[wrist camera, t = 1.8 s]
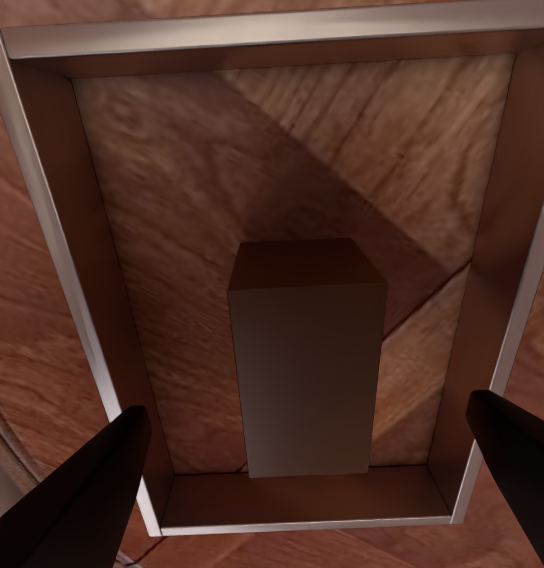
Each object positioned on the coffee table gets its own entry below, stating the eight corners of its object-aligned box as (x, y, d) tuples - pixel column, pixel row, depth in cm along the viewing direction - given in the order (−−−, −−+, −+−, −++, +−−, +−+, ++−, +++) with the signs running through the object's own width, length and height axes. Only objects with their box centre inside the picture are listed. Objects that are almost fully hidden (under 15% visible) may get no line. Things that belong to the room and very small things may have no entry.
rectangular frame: (436, 471, 17) (463, 524, 14) (165, 483, 17) (149, 537, 15) (542, 26, 9) (634, -12, 7) (43, 55, 9) (-31, 28, 7)
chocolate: (343, 388, 14) (368, 473, 11) (253, 393, 14) (249, 478, 11) (351, 237, 12) (388, 282, 8) (239, 242, 12) (226, 290, 8)
